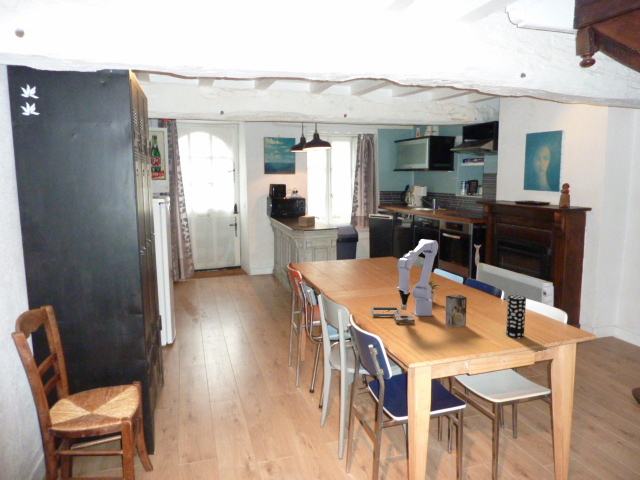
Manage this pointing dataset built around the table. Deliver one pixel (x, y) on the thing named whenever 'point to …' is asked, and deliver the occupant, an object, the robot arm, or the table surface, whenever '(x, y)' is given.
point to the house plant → (432, 288)
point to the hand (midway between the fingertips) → (403, 303)
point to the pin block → (404, 318)
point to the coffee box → (456, 310)
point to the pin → (403, 306)
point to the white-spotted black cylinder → (516, 316)
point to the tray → (386, 311)
